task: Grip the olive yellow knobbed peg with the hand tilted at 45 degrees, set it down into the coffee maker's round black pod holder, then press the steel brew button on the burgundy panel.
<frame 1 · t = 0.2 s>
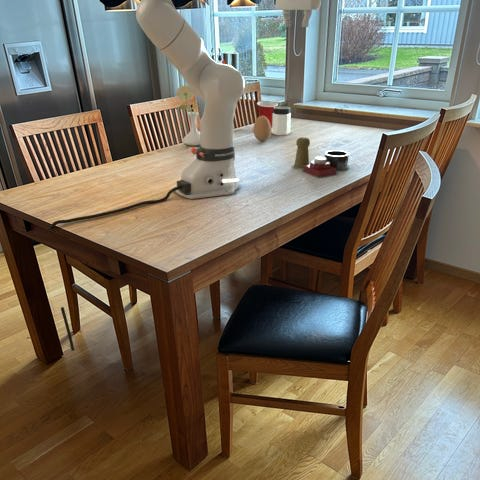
hand: (296, 26, 158), 48 cm above the table, tool pointing down, fingers open, 8 cm apart
pod holder: (335, 167, 190), on the table
flower in vase: (193, 144, 224), on the table
brew button: (320, 160, 182), point 4 cm above the table, slide at 0.1 cm
plastic cup: (267, 127, 254), on the table
egg: (262, 141, 228), on the table
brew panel: (319, 172, 184), on the table
olive yellow knobbed peg: (301, 167, 191), on the table
jar: (281, 133, 242), on the table
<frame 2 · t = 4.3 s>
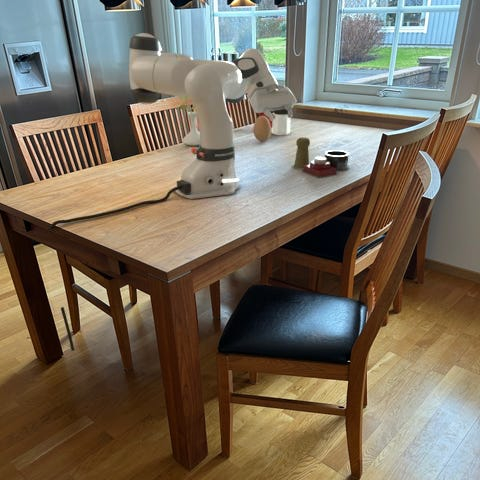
hand: (282, 118, 190), 16 cm above the table, tool tilted 45°, fingers open, 8 cm apart
nothing on the table moved.
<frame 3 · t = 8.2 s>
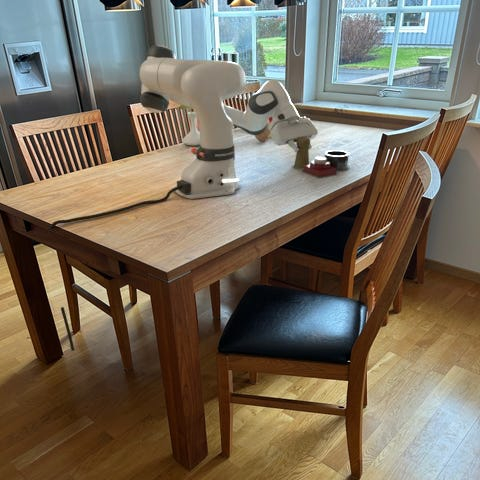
hand: (303, 150, 187), 7 cm above the table, tool tilted 45°, fingers closed on olive yellow knobbed peg, 5 cm apart
olive yellow knobbed peg: (301, 167, 191), on the table, touching gripper
everything else where it was.
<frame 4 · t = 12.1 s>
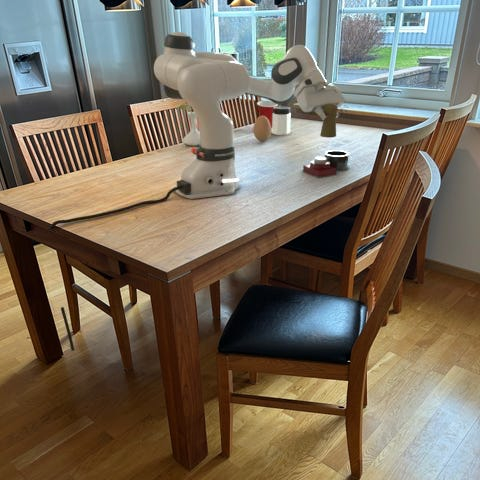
hand: (331, 117, 180), 18 cm above the table, tool tilted 45°, fingers closed on olive yellow knobbed peg, 5 cm apart
olive yellow knobbed peg: (328, 136, 184), point 12 cm above the table, touching gripper
everything else where it was.
when the fingers open (7 cm above the table, at t = 16.1 s): olive yellow knobbed peg stays where it is, resting on pod holder.
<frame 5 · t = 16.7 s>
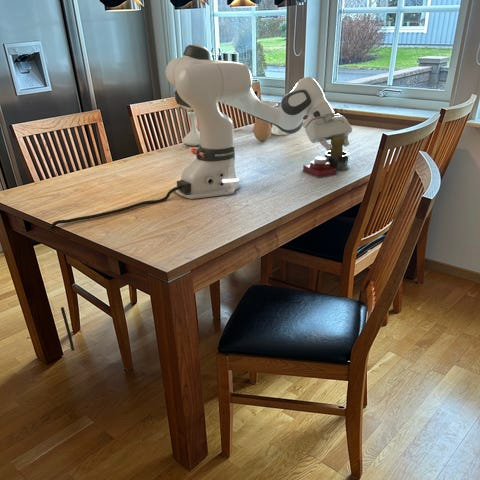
hand: (338, 147, 185), 8 cm above the table, tool tilted 45°, fingers open, 8 cm apart
olive yellow knobbed peg: (335, 166, 189), resting on pod holder
everything else where it was.
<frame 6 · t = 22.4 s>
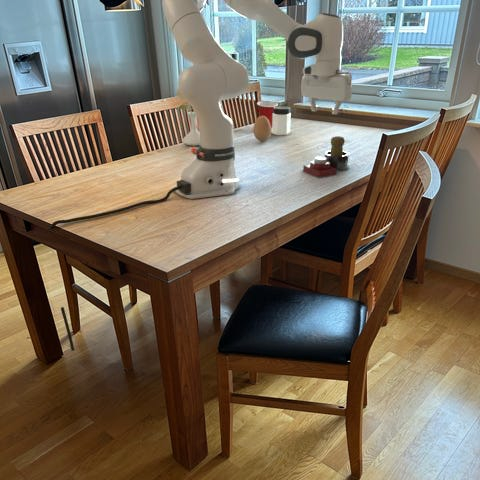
hand: (324, 112, 173), 21 cm above the table, tool pointing down, fingers open, 8 cm apart
nothing on the table moved.
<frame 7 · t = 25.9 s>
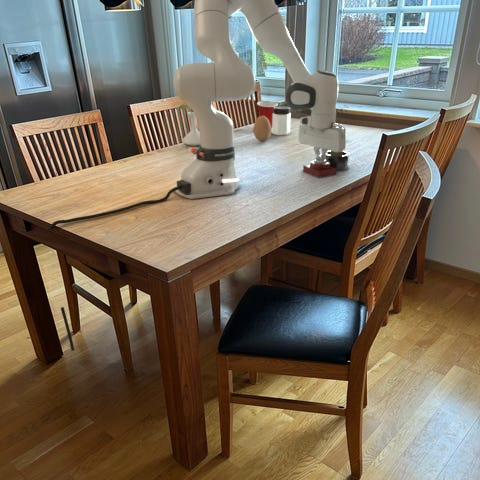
hand: (319, 159, 182), 5 cm above the table, tool pointing down, fingers closed, pressing on brew button
brew button: (320, 162, 182), point 4 cm above the table, slide at -0.6 cm, touching gripper
everything else where it was.
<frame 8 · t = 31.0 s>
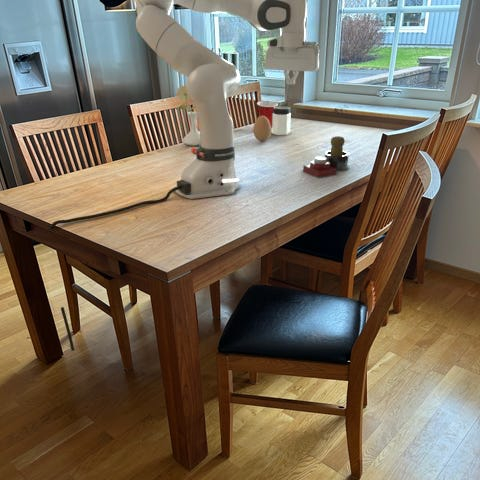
hand: (290, 84, 179), 29 cm above the table, tool pointing down, fingers closed
brew button: (320, 160, 182), point 4 cm above the table, slide at 0.1 cm
everything else where it was.
at the end: olive yellow knobbed peg 0.1 cm off-centre in the pod holder, point 0.4 cm above the pod holder's base; olive yellow knobbed peg tilted 0°; brew button pushed in 1.1 cm at the most during the clip, back to where it started at the end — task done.
